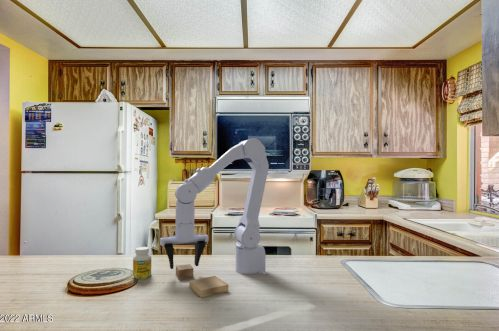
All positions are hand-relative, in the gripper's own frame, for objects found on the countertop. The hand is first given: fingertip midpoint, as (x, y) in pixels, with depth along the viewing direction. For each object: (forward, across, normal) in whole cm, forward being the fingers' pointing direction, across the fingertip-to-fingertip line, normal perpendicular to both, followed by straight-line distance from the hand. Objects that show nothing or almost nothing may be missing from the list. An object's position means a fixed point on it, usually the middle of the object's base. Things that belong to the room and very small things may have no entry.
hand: (184, 266), depth 95 cm
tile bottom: (+5, -4, +13) cm, 14 cm away
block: (+4, 0, 0) cm, 4 cm away
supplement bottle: (+4, +12, -5) cm, 14 cm away
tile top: (+3, -4, +13) cm, 14 cm away
